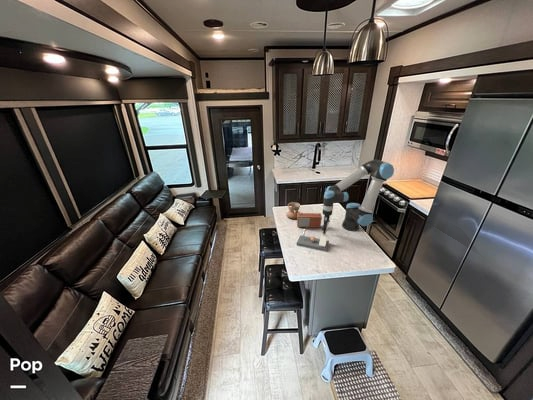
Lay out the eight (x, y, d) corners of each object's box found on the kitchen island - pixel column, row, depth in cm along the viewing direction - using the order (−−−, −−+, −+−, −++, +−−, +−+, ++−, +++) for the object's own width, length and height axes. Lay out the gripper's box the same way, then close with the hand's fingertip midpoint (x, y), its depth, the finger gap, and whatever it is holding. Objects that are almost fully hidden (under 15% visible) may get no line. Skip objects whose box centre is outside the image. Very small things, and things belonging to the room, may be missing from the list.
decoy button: (315, 239, 176) (316, 237, 176) (315, 241, 173) (315, 239, 172) (311, 238, 178) (311, 236, 177) (310, 240, 174) (310, 238, 174)
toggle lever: (304, 238, 179) (306, 229, 179) (304, 238, 177) (305, 229, 177) (302, 238, 180) (303, 228, 180) (301, 238, 178) (303, 228, 178)
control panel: (319, 224, 206) (321, 211, 198) (320, 229, 200) (322, 216, 192) (296, 223, 208) (297, 211, 200) (297, 228, 202) (297, 216, 194)
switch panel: (328, 243, 178) (329, 239, 176) (326, 251, 168) (327, 247, 166) (300, 237, 186) (300, 233, 185) (296, 245, 176) (296, 240, 175)
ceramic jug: (285, 213, 230) (286, 201, 225) (299, 213, 230) (300, 201, 224) (287, 221, 214) (287, 208, 208) (301, 221, 213) (302, 208, 208)
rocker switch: (327, 236, 175) (327, 235, 175) (325, 247, 168) (325, 246, 167) (321, 235, 177) (321, 234, 176) (318, 245, 170) (318, 244, 169)
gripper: (325, 203, 185) (323, 224, 193) (320, 215, 164) (318, 239, 172) (334, 204, 183) (331, 226, 191) (330, 217, 161) (327, 241, 169)
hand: (325, 232), depth 181 cm, fingers open, 13 cm apart
